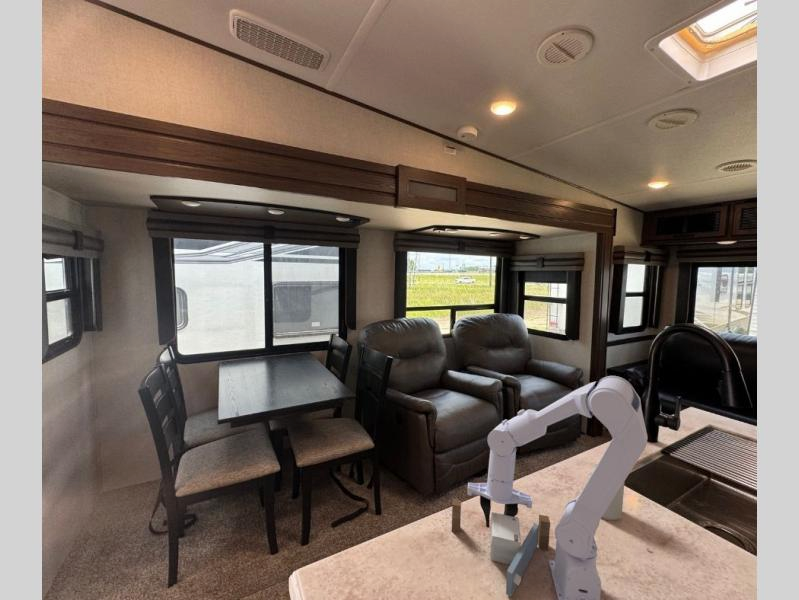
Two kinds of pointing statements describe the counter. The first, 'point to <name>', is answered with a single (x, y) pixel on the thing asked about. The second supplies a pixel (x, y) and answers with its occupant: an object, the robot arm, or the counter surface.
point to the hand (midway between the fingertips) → (495, 526)
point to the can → (614, 504)
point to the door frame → (542, 532)
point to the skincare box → (504, 538)
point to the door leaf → (521, 560)
